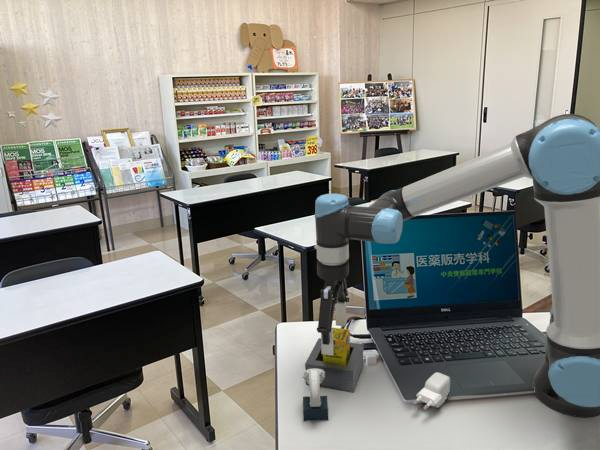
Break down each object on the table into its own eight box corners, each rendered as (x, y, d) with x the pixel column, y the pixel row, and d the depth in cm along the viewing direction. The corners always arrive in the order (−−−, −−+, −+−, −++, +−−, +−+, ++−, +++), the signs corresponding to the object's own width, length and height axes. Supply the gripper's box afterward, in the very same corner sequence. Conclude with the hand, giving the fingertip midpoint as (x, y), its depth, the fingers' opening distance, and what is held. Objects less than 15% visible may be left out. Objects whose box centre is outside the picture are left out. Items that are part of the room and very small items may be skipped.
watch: (326, 401, 111) (325, 361, 108) (328, 425, 103) (327, 383, 100) (303, 402, 111) (301, 361, 108) (303, 426, 103) (301, 384, 100)
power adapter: (428, 424, 102) (429, 401, 101) (408, 414, 106) (409, 392, 104) (452, 398, 110) (453, 376, 108) (433, 389, 113) (434, 368, 112)
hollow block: (363, 364, 124) (363, 344, 122) (353, 392, 114) (353, 371, 112) (319, 357, 128) (318, 338, 126) (306, 384, 117) (305, 363, 115)
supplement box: (346, 379, 118) (346, 341, 114) (323, 376, 119) (321, 338, 116) (350, 366, 123) (350, 328, 120) (328, 363, 125) (327, 326, 121)
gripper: (330, 240, 124) (332, 313, 130) (301, 280, 101) (305, 365, 108) (359, 242, 121) (359, 316, 128) (335, 283, 99) (337, 370, 105)
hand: (334, 339), depth 118 cm, fingers open, 13 cm apart
